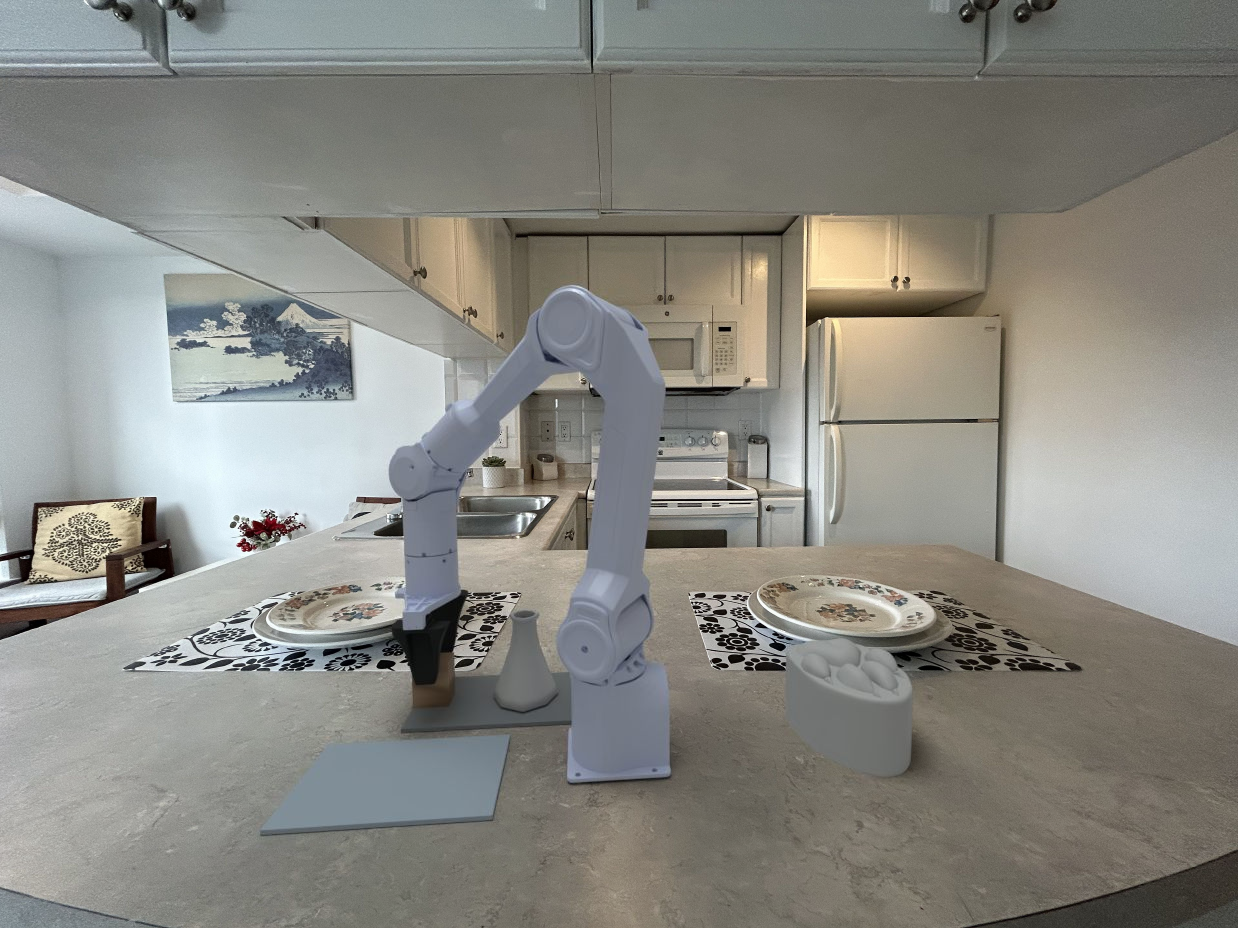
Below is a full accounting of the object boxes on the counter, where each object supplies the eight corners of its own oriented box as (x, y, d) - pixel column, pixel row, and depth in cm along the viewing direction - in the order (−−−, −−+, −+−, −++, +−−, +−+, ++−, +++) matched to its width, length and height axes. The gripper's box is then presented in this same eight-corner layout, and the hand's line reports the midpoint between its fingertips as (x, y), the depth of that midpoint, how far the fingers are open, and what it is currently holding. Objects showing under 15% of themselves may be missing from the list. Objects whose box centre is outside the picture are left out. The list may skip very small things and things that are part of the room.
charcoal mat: (573, 674, 66) (572, 634, 65) (572, 723, 55) (571, 675, 54) (430, 680, 64) (429, 639, 64) (400, 732, 53) (398, 683, 53)
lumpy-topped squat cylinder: (855, 697, 60) (857, 626, 60) (942, 770, 47) (946, 680, 47) (773, 705, 58) (774, 632, 58) (840, 783, 46) (843, 690, 45)
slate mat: (510, 738, 52) (510, 734, 52) (492, 819, 41) (492, 815, 41) (328, 747, 51) (328, 743, 51) (260, 834, 40) (260, 830, 40)
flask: (529, 675, 65) (527, 598, 64) (569, 693, 60) (568, 611, 60) (481, 698, 59) (479, 615, 59) (521, 720, 55) (520, 630, 54)
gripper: (415, 538, 65) (419, 642, 66) (369, 569, 50) (375, 701, 51) (471, 537, 65) (475, 639, 66) (441, 567, 51) (446, 698, 52)
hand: (435, 666), depth 59 cm, fingers open, 7 cm apart
